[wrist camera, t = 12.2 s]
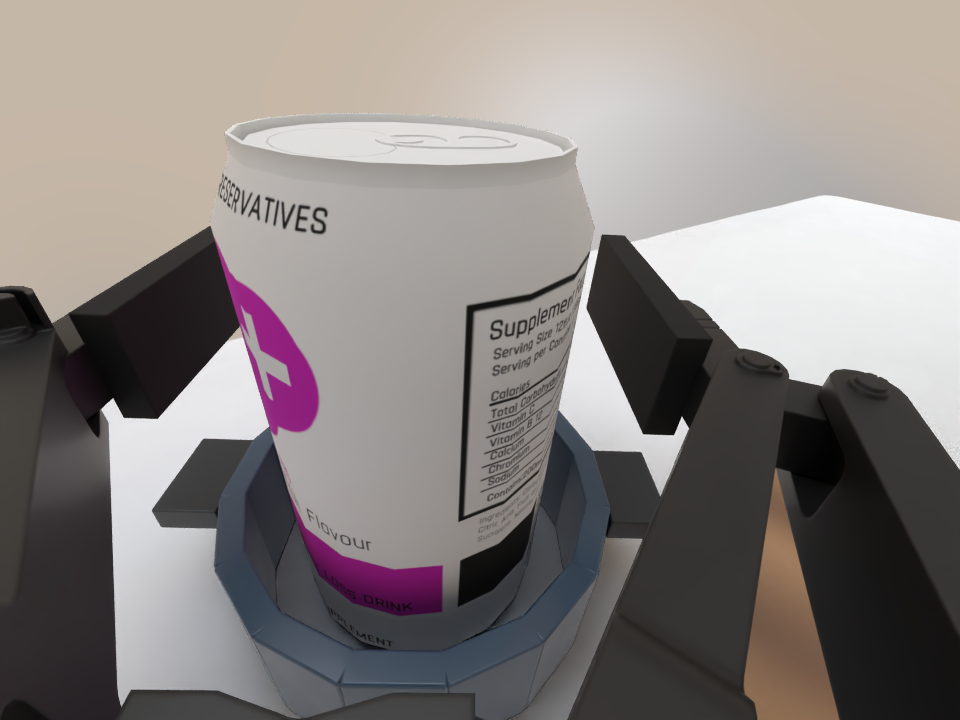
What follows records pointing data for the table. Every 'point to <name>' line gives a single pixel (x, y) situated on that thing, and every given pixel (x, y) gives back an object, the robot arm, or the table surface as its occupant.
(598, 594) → the table surface
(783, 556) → the wooden board
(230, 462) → the pot
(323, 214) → the supplement can
